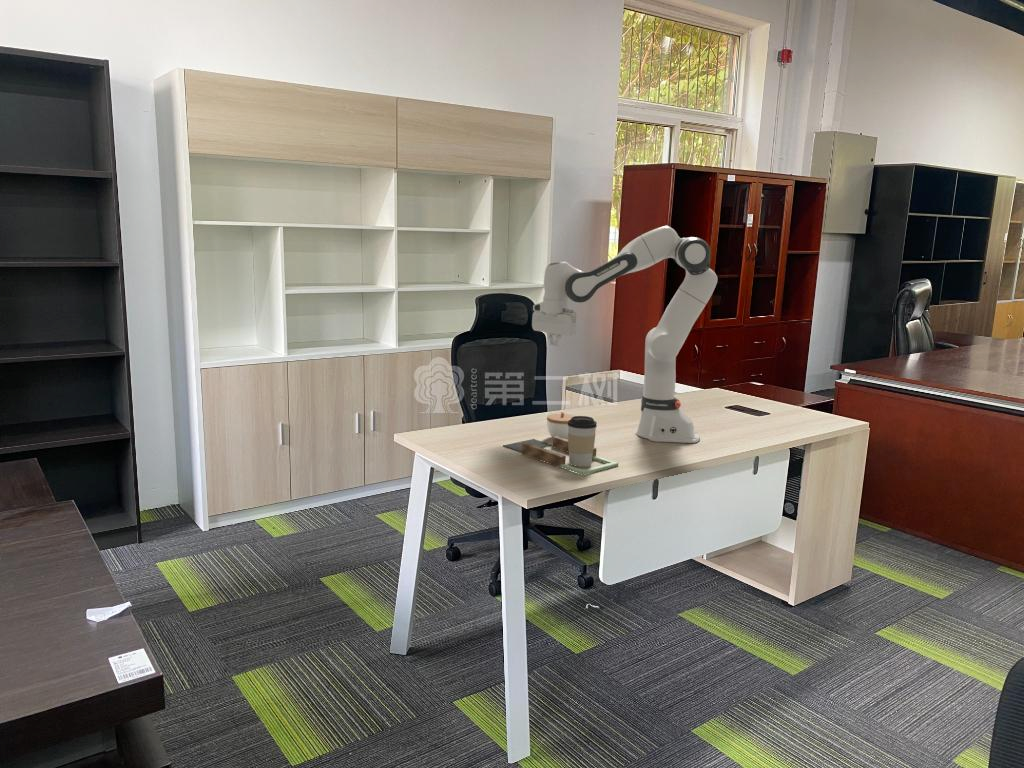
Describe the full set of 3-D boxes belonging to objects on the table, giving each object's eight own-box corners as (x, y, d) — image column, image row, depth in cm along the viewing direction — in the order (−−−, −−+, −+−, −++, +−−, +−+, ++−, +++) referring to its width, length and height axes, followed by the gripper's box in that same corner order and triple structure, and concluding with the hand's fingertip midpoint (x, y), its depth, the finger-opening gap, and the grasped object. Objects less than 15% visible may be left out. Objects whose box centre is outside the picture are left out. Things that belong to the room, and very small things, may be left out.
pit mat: (503, 446, 252) (503, 445, 252) (533, 439, 261) (533, 438, 261) (520, 452, 245) (520, 451, 245) (551, 445, 254) (551, 444, 254)
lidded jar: (544, 434, 269) (545, 409, 267) (573, 434, 270) (575, 409, 268) (548, 442, 258) (549, 416, 256) (579, 442, 259) (580, 416, 257)
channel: (521, 454, 244) (521, 443, 243) (556, 446, 254) (557, 436, 253) (560, 467, 230) (561, 456, 230) (595, 458, 241) (596, 448, 240)
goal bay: (560, 467, 230) (560, 464, 230) (595, 458, 241) (595, 455, 241) (582, 475, 223) (583, 472, 223) (618, 465, 234) (618, 462, 234)
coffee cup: (564, 459, 239) (566, 413, 237) (592, 459, 240) (594, 414, 237) (567, 467, 231) (569, 420, 228) (596, 468, 231) (599, 421, 228)
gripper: (582, 309, 261) (580, 348, 264) (542, 304, 276) (541, 341, 279) (569, 310, 257) (568, 350, 260) (529, 305, 272) (528, 343, 275)
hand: (553, 345), depth 270 cm, fingers closed
